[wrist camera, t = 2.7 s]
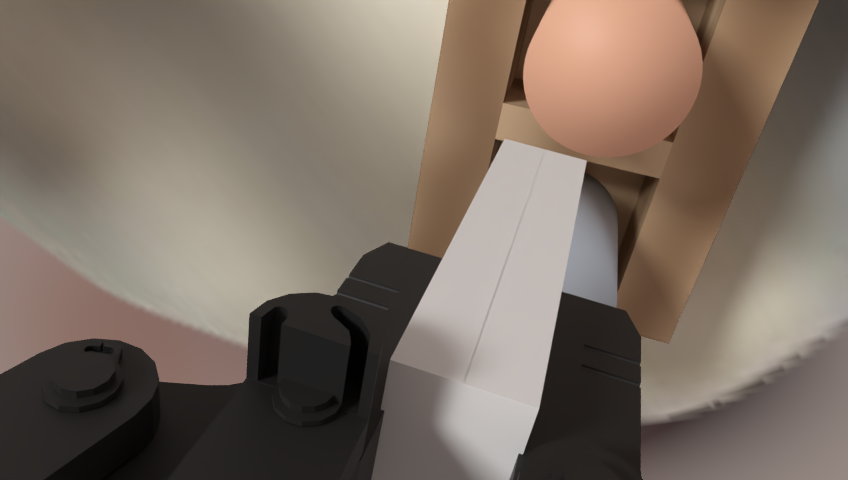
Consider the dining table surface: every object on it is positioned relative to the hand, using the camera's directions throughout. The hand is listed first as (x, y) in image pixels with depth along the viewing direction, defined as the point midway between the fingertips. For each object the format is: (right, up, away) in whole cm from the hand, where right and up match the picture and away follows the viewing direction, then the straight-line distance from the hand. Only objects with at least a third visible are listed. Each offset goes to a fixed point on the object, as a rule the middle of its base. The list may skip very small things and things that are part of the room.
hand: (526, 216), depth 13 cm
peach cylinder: (+5, +7, +12) cm, 15 cm away
